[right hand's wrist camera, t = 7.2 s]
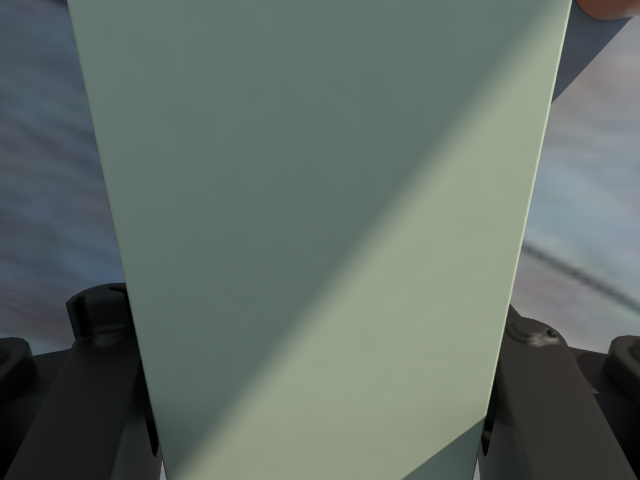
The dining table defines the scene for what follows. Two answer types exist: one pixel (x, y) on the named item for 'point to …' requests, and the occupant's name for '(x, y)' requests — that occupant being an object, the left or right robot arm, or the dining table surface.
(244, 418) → the beam
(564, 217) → the dining table surface
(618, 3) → the orange cylinder puck
